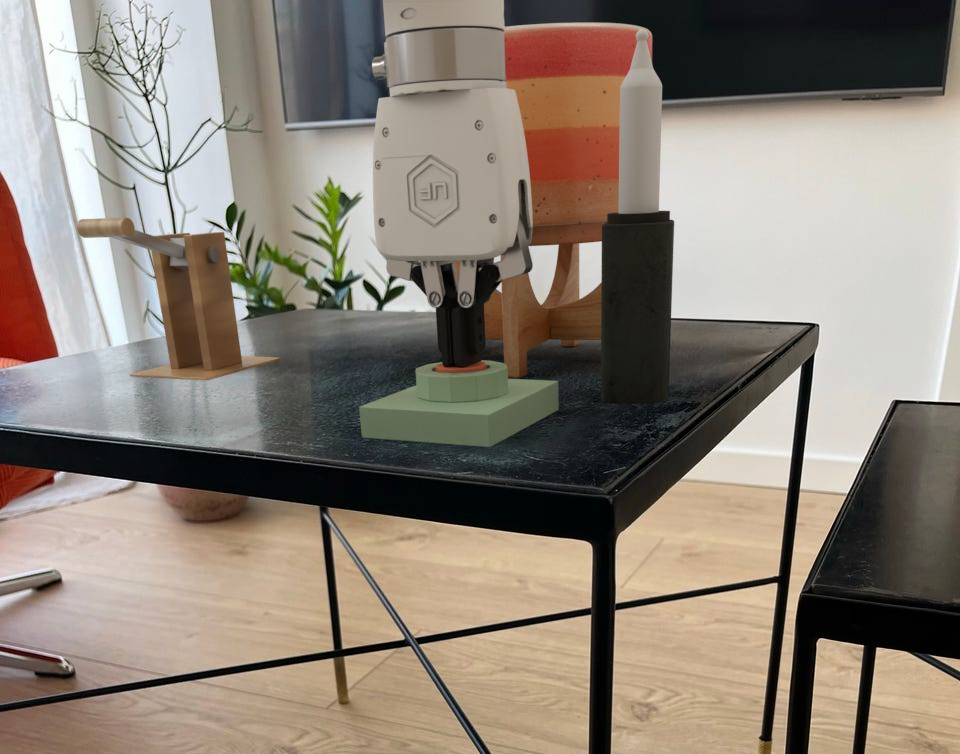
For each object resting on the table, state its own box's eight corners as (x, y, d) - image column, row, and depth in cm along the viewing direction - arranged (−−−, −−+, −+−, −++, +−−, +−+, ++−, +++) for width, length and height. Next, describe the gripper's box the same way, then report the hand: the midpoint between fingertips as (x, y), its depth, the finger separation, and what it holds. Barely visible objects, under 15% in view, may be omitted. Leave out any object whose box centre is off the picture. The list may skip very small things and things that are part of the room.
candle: (605, 390, 82) (608, 36, 72) (669, 390, 81) (681, 30, 71) (599, 403, 78) (601, 27, 68) (666, 403, 77) (678, 21, 67)
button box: (489, 447, 67) (487, 386, 65) (361, 438, 71) (356, 380, 69) (558, 410, 77) (558, 356, 75) (442, 403, 81) (439, 352, 79)
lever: (121, 240, 82) (122, 209, 81) (76, 241, 84) (76, 210, 83) (221, 272, 92) (222, 244, 92) (179, 272, 94) (179, 245, 94)
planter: (623, 381, 86) (627, 12, 75) (409, 376, 93) (384, 37, 81) (667, 344, 103) (677, 39, 92) (484, 342, 109) (472, 57, 98)
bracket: (207, 391, 90) (183, 237, 85) (131, 387, 94) (104, 239, 89) (281, 370, 99) (264, 229, 94) (209, 366, 103) (189, 231, 98)
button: (473, 395, 71) (472, 369, 70) (428, 392, 72) (426, 367, 71) (495, 385, 73) (494, 360, 73) (451, 383, 75) (450, 359, 74)
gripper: (316, 76, 65) (345, 370, 72) (530, 53, 58) (538, 377, 66) (377, 83, 71) (399, 353, 78) (578, 62, 64) (580, 358, 72)
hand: (462, 363), depth 72 cm, fingers closed
